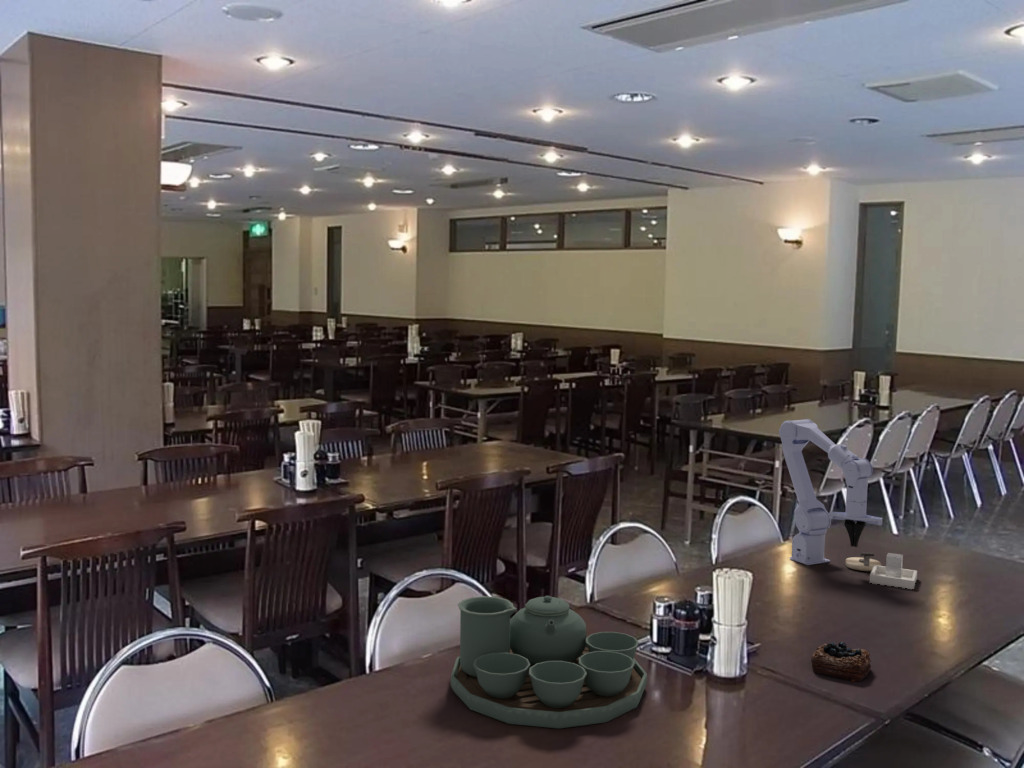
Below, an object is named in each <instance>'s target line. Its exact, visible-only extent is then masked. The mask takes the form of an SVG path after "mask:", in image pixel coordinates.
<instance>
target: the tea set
mask: <svg viewBox="0 0 1024 768" xmlns="http://www.w3.org/2000/svg"><path fill="white" fill-rule="evenodd" d="M457 606H458V609H459V611H460V615H459V616H460V618H459V619H460V620H459V622H460V625H459V627H460V629H459V631H460V632H459V635H460V636H459V639H460V640H459V647H460V648H459V656H457V657H456V658H455V661H454V665H453V669H452V671H451V674H450V687H451V689H452V691H453V692H454V694H455V695H456V696H457V697H458V698H459V699H460V700H461V701H462V702H463V703H464V704H465V706H467V708H469V710H471V711H473V712H477V713H479V714H482V715H484V716H487V717H489V718H493V719H494V720H498V721H501V722H502V723H503V722H504V723H506V724H509V725H518V726H527V727H528V726H529V727H539V728H540V727H541V728H551V729H564V728H565V729H567V728H573V727H580V726H588V725H596V724H603V723H608V722H610V721H611V720H614V719H615V718H618V717H620V716H623V715H624V714H625V713H627V712H631V711H632V710H635V709H636V708H637V707H638V705H639V704H640V701H641V699H642V696H643V693H644V691H645V688H646V686H647V683H648V673H647V671H645V670H644V669H643V667H642V665H640V663H639V662H638V661H637V660H636V659H635V655H636V651H637V648H638V647H639V644H640V641H638V639H637V638H636V637H634V636H632V635H630V634H627V633H623V632H617V631H600V632H595V633H591V634H589V635H588V636H587V624H586V622H585V621H584V619H583V618H582V617H581V615H580V614H579V613H578V612H575V611H574V610H572V609H571V608H570V604H569V603H568V602H567V601H566V600H564V599H562V598H560V597H559V598H558V597H555V596H550V595H545V596H538V597H535V598H531V599H529V600H527V602H526V603H525V605H524V607H523V608H520V609H519V610H518V608H516V607H515V606H514V603H513V602H511V600H509V599H507V598H506V599H505V598H502V597H498V596H487V595H483V596H482V595H481V596H471V597H469V598H465V599H462V600H461V601H460V602H459V603H457ZM517 610H518V611H517ZM513 614H514V615H513ZM512 615H513V616H512Z"/></svg>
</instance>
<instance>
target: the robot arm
mask: <svg viewBox="0 0 1024 768" xmlns="http://www.w3.org/2000/svg"><path fill="white" fill-rule="evenodd" d="M818 426H819V425H818V424H816V423H815V422H814V421H813V420H811V419H810V418H805V419H798V420H797V419H794V420H784V421H783V422H782V423H781V425H780V427H779V430H778V434H779V438H780V440H781V445H782V447H781V448H782V449H781V450H782V453H783V457H784V460H785V464H786V467H787V469H788V472H789V473H788V474H789V476H790V480H791V482H792V485H793V488H794V489H793V490H794V492H795V495H796V499H797V502H798V505H797V506H796V508H795V509H794V515H795V525H796V528H797V529H798V532H799V533H796V534H795V535H794V536H793V538H792V540H791V541H792V542H791V556H790V557H789V559H790V560H792V561H794V562H797V563H800V564H804V565H806V566H811V565H818V564H825V563H831V560H830V559H828V558H826V557H825V547H826V545H825V544H826V543H825V541H826V540H825V539H826V533H827V532H828V531H827V529H829V528H830V527H831V525H832V520H838V521H844V523H843V525H844V527H845V529H846V532H847V534H848V538H849V542H850V547H855V548H857V547H858V545H859V542H860V537H861V535H862V533H863V531H864V528H865V527H866V525H867V524H871V525H877V526H882V525H883V517H879V516H873V515H869V514H867V507H868V506H867V505H868V503H867V502H868V488H869V487H868V484H869V482H868V481H869V478H870V477H871V476H872V475H873V472H874V471H873V470H874V469H873V465H872V463H871V462H870V461H869V460H868V458H860V457H859V456H858V455H857V454H855V453H854V452H852V451H850V450H849V449H848V446H847V445H845V444H841V443H837V444H836V443H835V442H833V440H831V439H830V438H829V436H827V435H826V434H825V433H824V432H823V431H822V430H820V428H819V427H818ZM809 442H811V443H812V444H815V445H816V446H817V447H819V448H820V449H821V450H823V451H824V452H826V453H827V458H828V459H829V460H830V462H832V463H834V464H835V465H836V466H837V467H838V468H840V470H842V474H843V476H844V478H845V483H846V491H845V492H846V495H845V512H842V511H830V512H828V511H827V509H826V507H825V504H824V503H822V502H821V501H820V500H818V499H817V495H816V493H815V490H814V487H813V483H812V481H811V478H810V474H809V471H808V467H807V465H806V462H805V459H804V455H803V452H802V451H803V449H804V448H805V447H806V446H807V444H808V443H809Z"/></svg>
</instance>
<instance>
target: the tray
mask: <svg viewBox="0 0 1024 768" xmlns="http://www.w3.org/2000/svg"><path fill="white" fill-rule="evenodd" d="M917 579H918V570H915V569H907V568H902V578H894V577H887V576H886V565H884V566H883V565H881V566H879V565H874V567H873V569H872V571H870V574H869V584H870V583H872V584H871V585H877V584H880V585H879V586H884V585H887V586H886V587H891V586H894V587H893V588H898V587H902V588H901V589H905V588H907V589H906V590H912V589H914V590H915V587H916V584H915V583H917Z"/></svg>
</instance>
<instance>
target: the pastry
mask: <svg viewBox="0 0 1024 768" xmlns="http://www.w3.org/2000/svg"><path fill="white" fill-rule="evenodd" d="M837 644H838V645H837ZM870 656H871V654H870V653H869V652H868V651H867V650H866V649H864V648H863V649H861V648H854V649H853V648H851V647H848V645H847V644H846V643H845V642H843V641H840V642H839V643H835V642H830V643H824V644H822V645H820V646H817V647H816V651H814V652H813V654H812V655H811V659H810V660H811V662H810V663H811V668H812V669H813V670H812V671H813V673H815V674H818V675H821V676H826V677H830V678H835V679H840V680H846V681H850V682H853V683H855V682H856V683H857V682H858V683H860V682H862V681H863V680H864V679H866V677H867V676H868V675H869V673H870V671H871V667H872V666H871V662H872V660H871V658H870Z"/></svg>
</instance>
